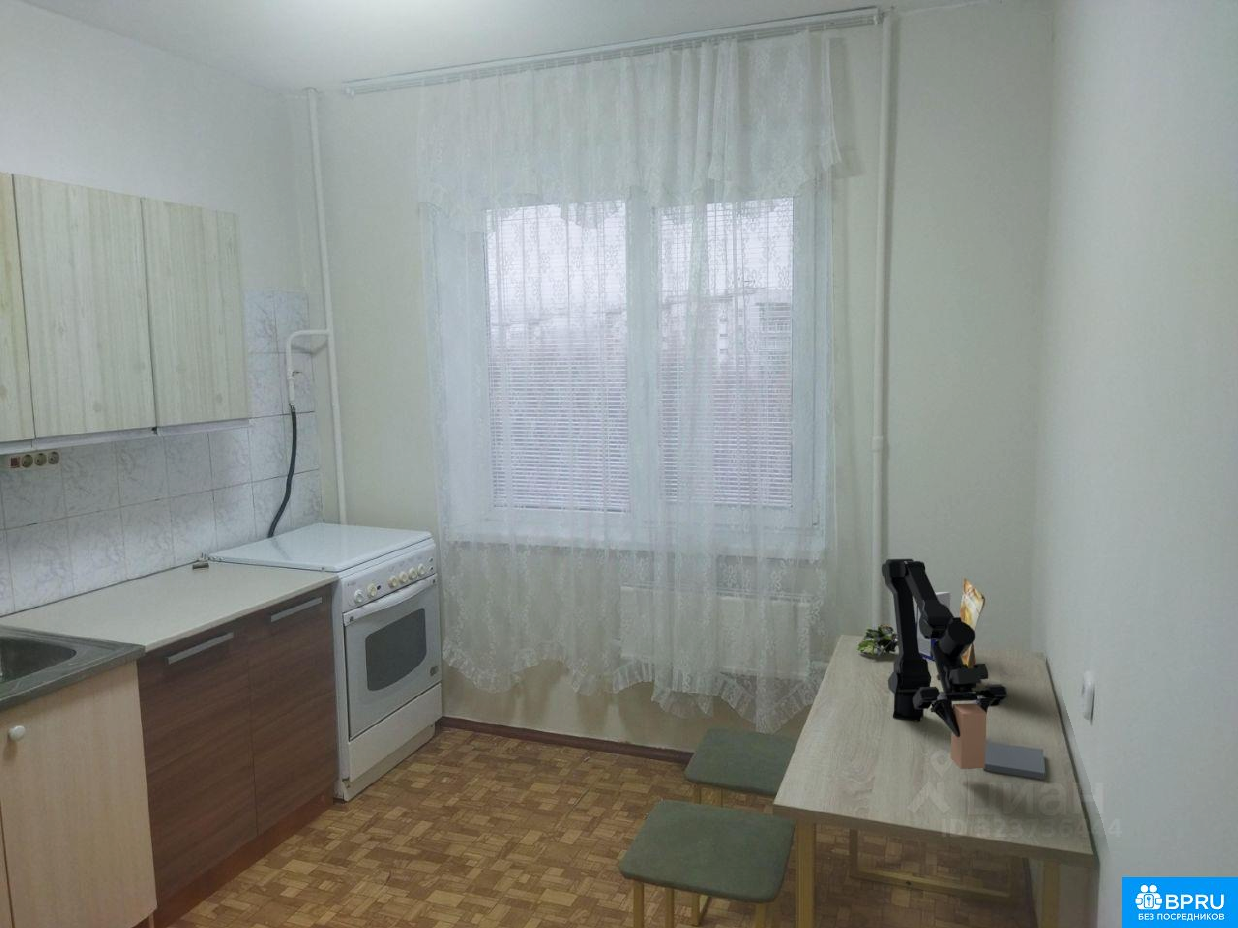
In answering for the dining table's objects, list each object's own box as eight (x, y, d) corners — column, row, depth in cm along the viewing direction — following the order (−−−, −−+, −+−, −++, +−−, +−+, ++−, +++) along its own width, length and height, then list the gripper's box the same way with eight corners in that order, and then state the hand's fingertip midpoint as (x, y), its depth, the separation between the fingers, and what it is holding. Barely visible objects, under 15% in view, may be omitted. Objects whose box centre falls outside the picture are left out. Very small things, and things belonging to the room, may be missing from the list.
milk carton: (931, 660, 253) (933, 594, 251) (914, 654, 259) (915, 589, 257) (949, 656, 257) (950, 591, 254) (931, 650, 263) (933, 586, 260)
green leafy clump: (886, 670, 262) (911, 640, 259) (877, 674, 252) (903, 644, 249) (857, 644, 267) (881, 615, 264) (847, 647, 257) (872, 617, 254)
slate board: (983, 769, 186) (983, 763, 186) (984, 746, 197) (984, 740, 197) (1044, 780, 181) (1045, 773, 181) (1042, 755, 192) (1043, 749, 192)
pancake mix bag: (972, 674, 242) (975, 576, 239) (982, 700, 224) (986, 595, 221) (946, 672, 244) (949, 575, 241) (955, 698, 226) (958, 593, 222)
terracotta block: (950, 757, 184) (952, 704, 182) (973, 756, 184) (975, 703, 183) (961, 768, 179) (962, 713, 178) (984, 768, 179) (986, 712, 178)
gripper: (919, 651, 182) (939, 722, 173) (1005, 648, 183) (1030, 719, 173) (904, 673, 191) (923, 742, 181) (986, 670, 192) (1009, 739, 182)
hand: (971, 735), depth 179 cm, fingers closed on terracotta block, 5 cm apart
